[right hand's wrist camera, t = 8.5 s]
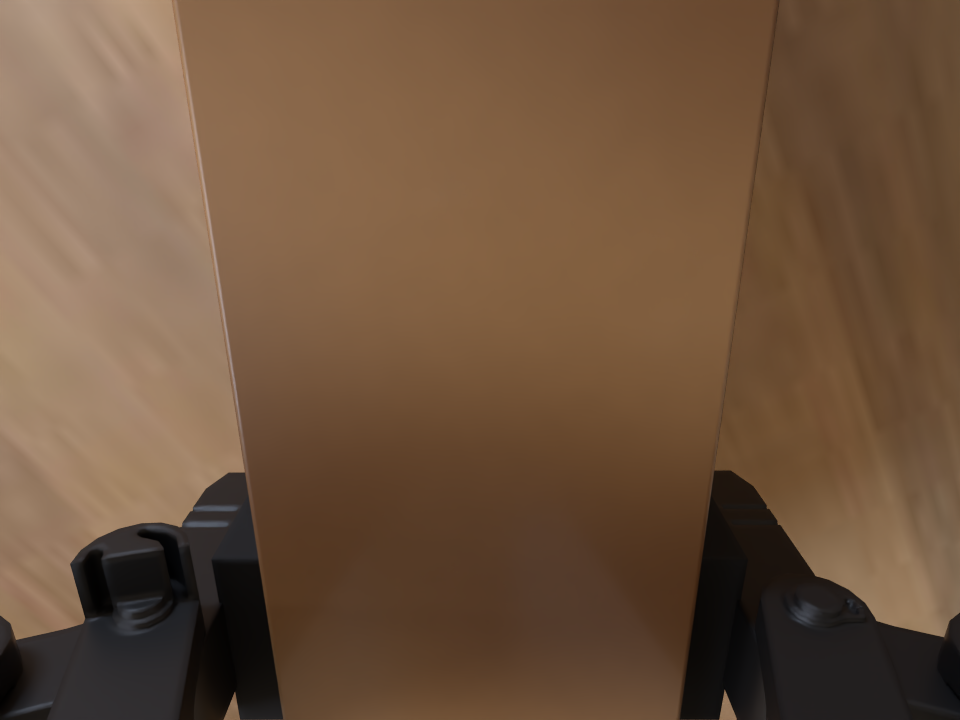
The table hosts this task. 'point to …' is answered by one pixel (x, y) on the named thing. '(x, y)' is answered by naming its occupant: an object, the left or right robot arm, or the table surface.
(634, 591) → the post
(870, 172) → the table surface
